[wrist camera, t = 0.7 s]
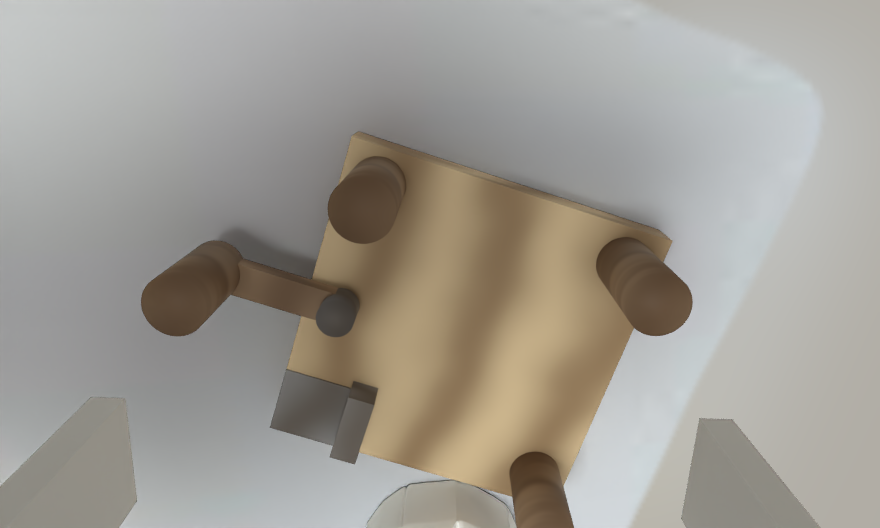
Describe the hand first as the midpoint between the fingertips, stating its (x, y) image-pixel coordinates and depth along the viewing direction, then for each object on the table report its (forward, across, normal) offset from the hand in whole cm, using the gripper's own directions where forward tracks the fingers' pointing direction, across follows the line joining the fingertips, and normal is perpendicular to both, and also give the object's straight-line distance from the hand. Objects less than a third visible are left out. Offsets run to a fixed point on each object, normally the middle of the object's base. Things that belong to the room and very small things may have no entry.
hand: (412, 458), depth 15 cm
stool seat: (+24, +2, -6) cm, 25 cm away
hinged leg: (+21, -8, -3) cm, 23 cm away
